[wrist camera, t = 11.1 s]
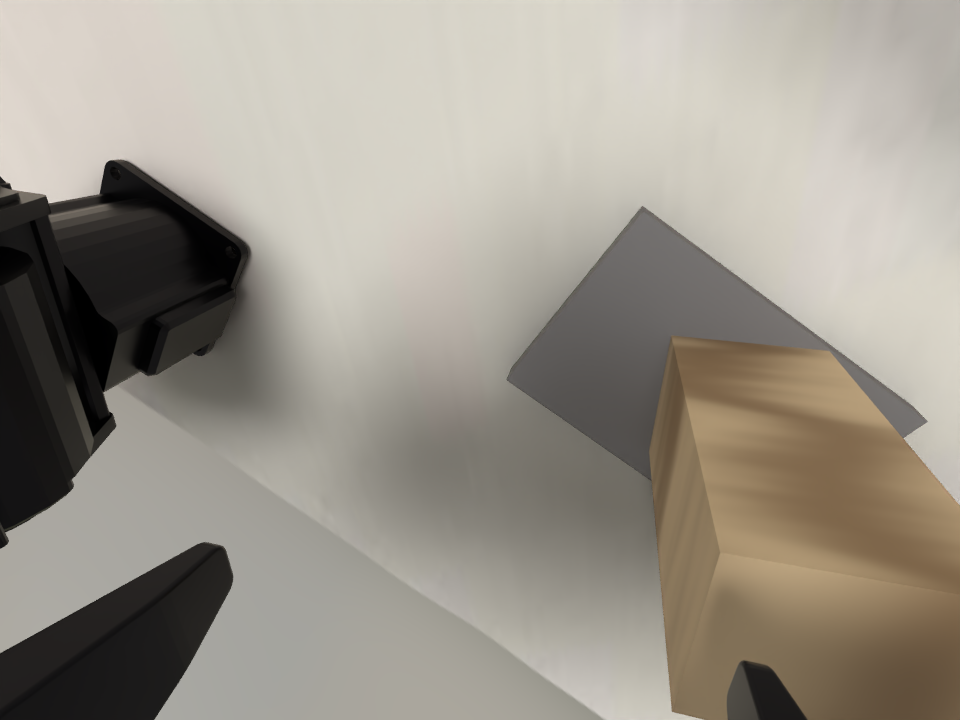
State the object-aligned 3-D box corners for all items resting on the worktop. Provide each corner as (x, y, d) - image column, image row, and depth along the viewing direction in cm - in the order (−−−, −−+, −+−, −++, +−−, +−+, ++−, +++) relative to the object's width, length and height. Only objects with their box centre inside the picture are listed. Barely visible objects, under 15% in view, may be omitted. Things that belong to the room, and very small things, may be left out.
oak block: (649, 451, 20) (672, 711, 12) (671, 335, 18) (720, 552, 9) (787, 470, 19) (925, 772, 11) (829, 350, 17) (1047, 610, 8)
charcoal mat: (511, 368, 21) (506, 380, 20) (642, 206, 17) (643, 211, 17) (738, 527, 22) (743, 544, 21) (913, 406, 18) (927, 421, 17)
